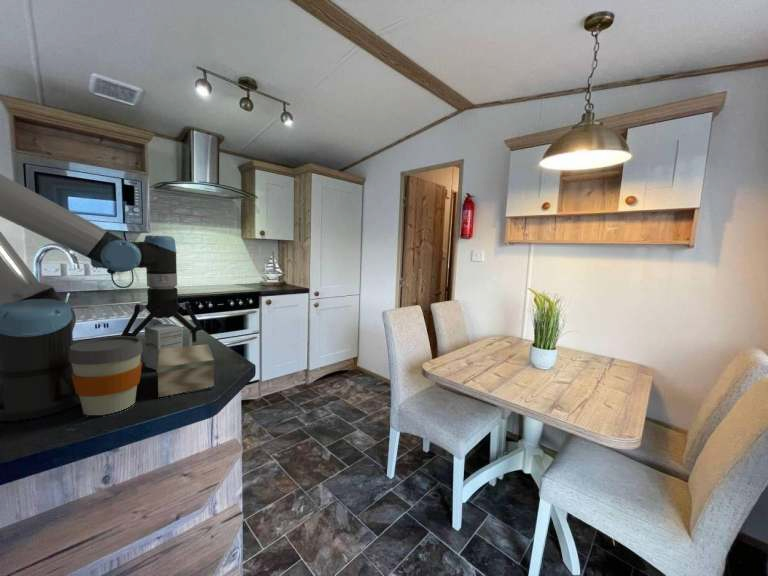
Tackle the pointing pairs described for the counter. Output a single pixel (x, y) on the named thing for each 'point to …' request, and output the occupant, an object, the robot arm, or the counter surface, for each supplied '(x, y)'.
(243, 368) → the counter surface
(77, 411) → the counter surface
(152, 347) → the supplement box
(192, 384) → the maple box
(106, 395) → the reusable coffee cup
